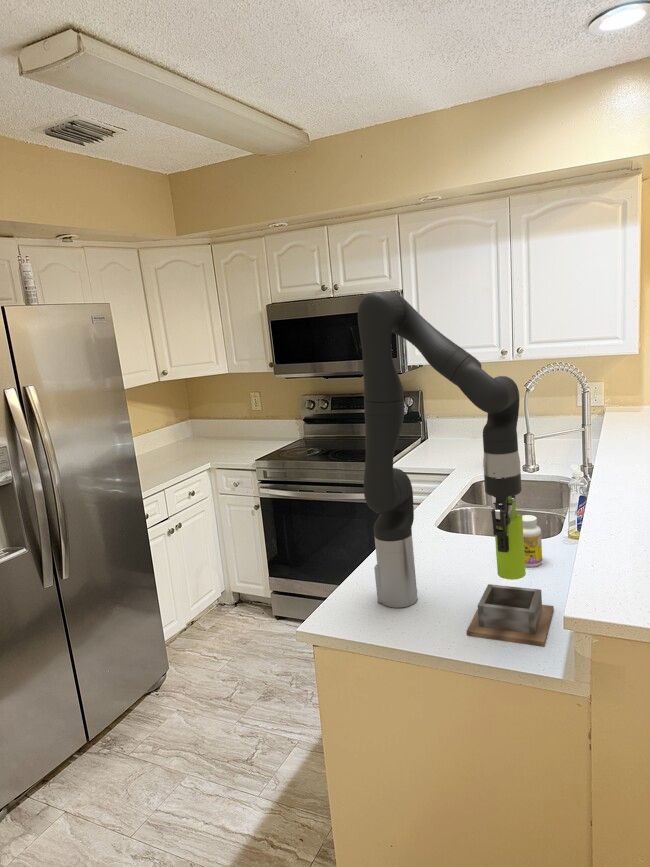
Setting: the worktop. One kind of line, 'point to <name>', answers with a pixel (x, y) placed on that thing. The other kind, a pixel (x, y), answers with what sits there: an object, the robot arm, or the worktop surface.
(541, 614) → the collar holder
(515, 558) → the soap dispenser
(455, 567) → the worktop surface
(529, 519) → the supplement bottle
